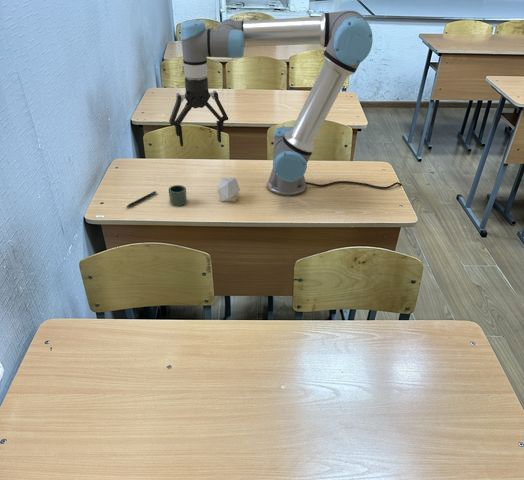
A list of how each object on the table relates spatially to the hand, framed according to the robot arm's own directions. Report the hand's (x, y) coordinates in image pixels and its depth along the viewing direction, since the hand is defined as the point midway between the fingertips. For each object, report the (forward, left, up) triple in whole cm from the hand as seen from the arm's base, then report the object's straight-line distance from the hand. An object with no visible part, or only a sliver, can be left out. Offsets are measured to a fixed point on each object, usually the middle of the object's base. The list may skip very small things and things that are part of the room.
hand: (200, 143), depth 179 cm
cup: (+10, +2, -22) cm, 24 cm away
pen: (+23, +1, -22) cm, 32 cm away
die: (-9, -1, -22) cm, 24 cm away
